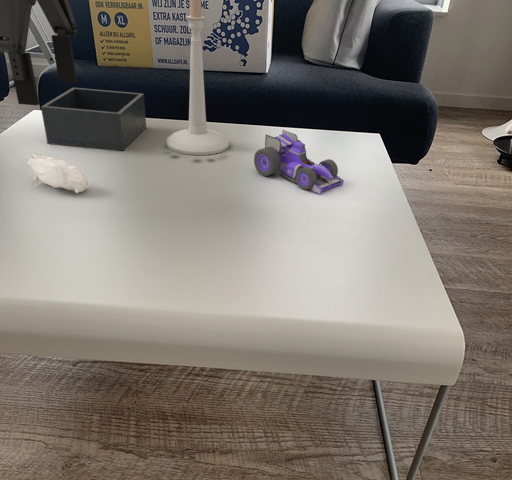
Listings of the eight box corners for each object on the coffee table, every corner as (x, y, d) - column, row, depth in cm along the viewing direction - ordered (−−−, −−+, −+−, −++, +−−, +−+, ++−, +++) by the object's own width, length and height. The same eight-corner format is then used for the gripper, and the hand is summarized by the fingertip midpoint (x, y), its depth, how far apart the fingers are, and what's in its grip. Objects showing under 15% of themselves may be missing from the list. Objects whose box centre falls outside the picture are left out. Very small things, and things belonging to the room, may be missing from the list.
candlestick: (233, 137, 117) (237, -31, 98) (222, 158, 107) (224, -26, 88) (175, 132, 118) (168, -36, 99) (158, 151, 108) (147, -31, 89)
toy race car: (315, 197, 94) (319, 159, 90) (252, 172, 102) (254, 136, 98) (347, 183, 99) (353, 148, 95) (286, 160, 107) (289, 126, 103)
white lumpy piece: (29, 199, 91) (80, 193, 87) (16, 156, 88) (69, 149, 85) (47, 193, 95) (97, 188, 92) (36, 153, 92) (86, 145, 89)
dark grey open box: (47, 143, 108) (40, 106, 104) (77, 121, 121) (72, 87, 116) (123, 151, 107) (119, 113, 103) (146, 127, 119) (143, 93, 115)
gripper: (-3, -88, 59) (36, 117, 72) (84, -85, 78) (103, 76, 91) (-69, -91, 59) (-18, 112, 72) (34, -88, 79) (60, 72, 92)
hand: (49, 92), depth 82 cm, fingers open, 13 cm apart
